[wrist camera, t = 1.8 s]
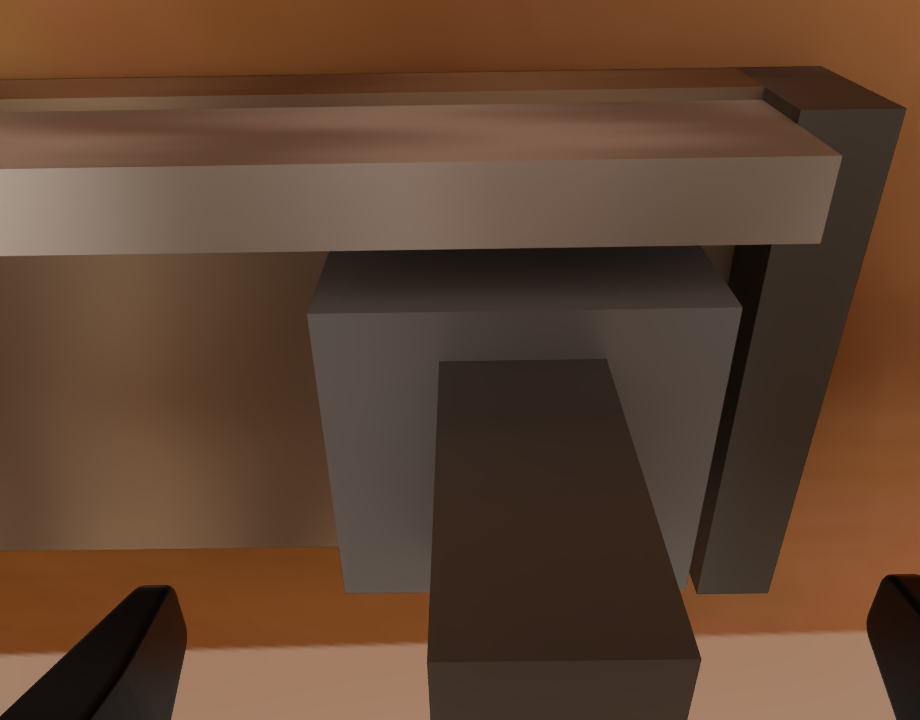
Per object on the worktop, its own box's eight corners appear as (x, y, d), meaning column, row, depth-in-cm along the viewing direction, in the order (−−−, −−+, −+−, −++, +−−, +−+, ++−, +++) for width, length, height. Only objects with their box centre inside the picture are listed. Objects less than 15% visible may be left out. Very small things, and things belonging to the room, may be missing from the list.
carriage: (362, 480, 16) (293, 917, 9) (336, 230, 13) (204, 603, 6) (649, 477, 16) (790, 913, 9) (687, 224, 13) (936, 593, 6)
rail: (-352, 511, 19) (-558, 670, 15) (-676, 91, 14) (-1122, 170, 10) (725, 496, 19) (794, 653, 15) (821, 66, 13) (966, 137, 10)
